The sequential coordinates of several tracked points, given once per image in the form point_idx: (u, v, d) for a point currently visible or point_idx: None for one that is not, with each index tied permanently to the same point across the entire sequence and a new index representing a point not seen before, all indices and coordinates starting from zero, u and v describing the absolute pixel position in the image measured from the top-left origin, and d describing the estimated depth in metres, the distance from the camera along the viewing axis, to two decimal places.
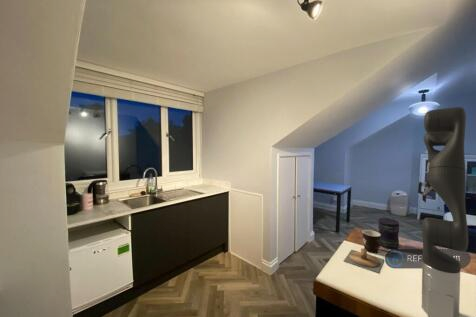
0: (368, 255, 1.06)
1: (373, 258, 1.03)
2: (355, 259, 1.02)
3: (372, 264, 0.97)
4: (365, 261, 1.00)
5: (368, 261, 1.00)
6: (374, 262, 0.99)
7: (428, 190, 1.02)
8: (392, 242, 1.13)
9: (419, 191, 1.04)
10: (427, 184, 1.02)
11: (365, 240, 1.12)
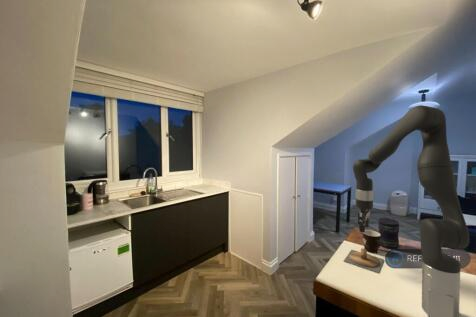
0: (368, 255, 1.06)
1: (373, 258, 1.03)
2: (355, 259, 1.02)
3: (372, 264, 0.97)
4: (365, 261, 1.00)
5: (368, 261, 1.00)
6: (374, 262, 0.99)
7: (366, 219, 0.98)
8: (392, 242, 1.13)
9: (363, 223, 0.96)
10: (365, 213, 0.98)
11: (365, 240, 1.12)
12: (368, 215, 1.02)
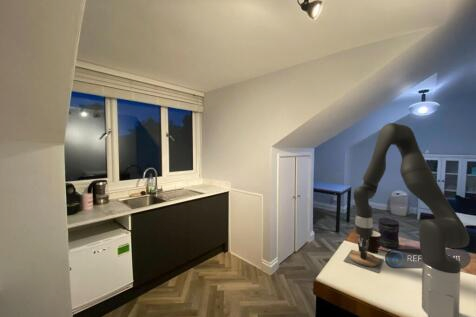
0: (368, 254, 1.05)
1: (373, 257, 1.03)
2: (355, 258, 1.02)
3: (372, 263, 0.97)
4: (365, 260, 1.00)
5: (368, 260, 1.00)
6: (374, 261, 0.99)
7: (366, 246, 1.00)
8: (392, 242, 1.13)
9: (364, 250, 0.99)
10: (364, 240, 0.99)
11: None
12: (367, 242, 1.02)
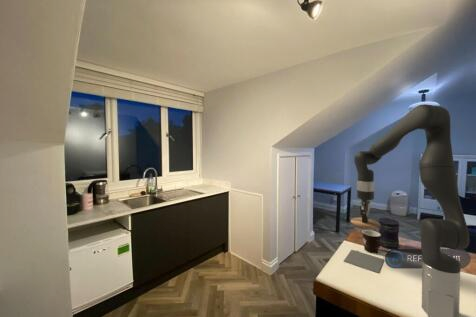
0: (369, 219, 1.07)
1: (374, 221, 1.04)
2: (357, 222, 1.04)
3: (373, 226, 0.99)
4: (366, 224, 1.02)
5: (369, 224, 1.02)
6: (375, 224, 1.01)
7: (368, 210, 1.02)
8: (392, 242, 1.13)
9: (366, 214, 1.01)
10: (366, 204, 1.01)
11: (365, 240, 1.12)
12: None
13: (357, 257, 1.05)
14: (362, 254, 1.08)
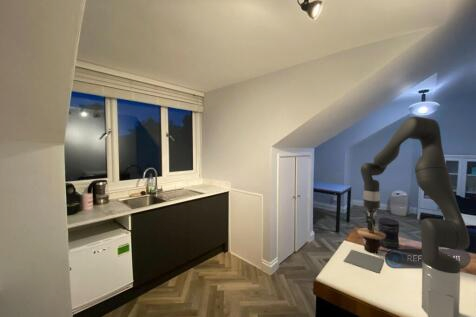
0: (375, 230, 1.14)
1: (380, 232, 1.11)
2: (363, 233, 1.10)
3: (379, 237, 1.06)
4: (372, 234, 1.08)
5: (375, 234, 1.08)
6: (381, 235, 1.07)
7: (374, 218, 1.07)
8: (392, 242, 1.13)
9: (371, 221, 1.06)
10: (372, 212, 1.07)
11: (365, 240, 1.12)
12: (375, 214, 1.11)
13: (357, 257, 1.05)
14: (362, 254, 1.08)
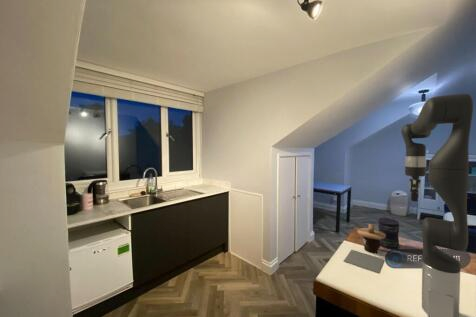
0: (375, 230, 1.14)
1: (380, 232, 1.11)
2: (363, 233, 1.10)
3: (379, 236, 1.06)
4: (372, 234, 1.08)
5: (375, 234, 1.08)
6: (381, 235, 1.07)
7: (419, 187, 0.92)
8: (392, 242, 1.13)
9: (417, 190, 0.90)
10: (417, 180, 0.92)
11: (365, 240, 1.12)
12: None
13: (357, 257, 1.05)
14: (362, 254, 1.08)
